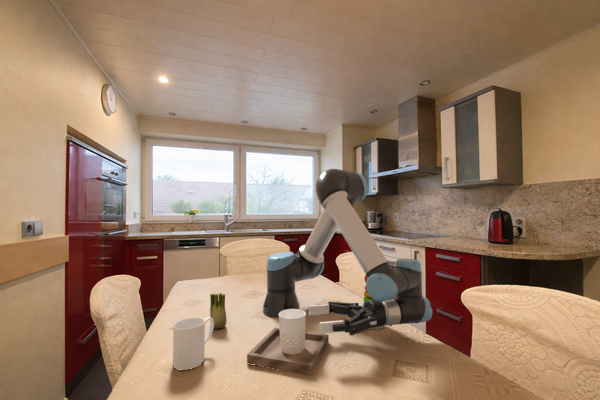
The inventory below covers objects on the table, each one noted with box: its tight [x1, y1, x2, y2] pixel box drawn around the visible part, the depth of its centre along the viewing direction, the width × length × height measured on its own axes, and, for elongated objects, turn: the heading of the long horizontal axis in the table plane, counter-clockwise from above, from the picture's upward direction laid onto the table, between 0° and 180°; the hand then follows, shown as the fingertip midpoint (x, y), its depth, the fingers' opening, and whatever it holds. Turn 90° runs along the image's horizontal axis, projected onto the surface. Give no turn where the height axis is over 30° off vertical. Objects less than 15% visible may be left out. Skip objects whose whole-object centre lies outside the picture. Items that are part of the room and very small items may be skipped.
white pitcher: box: [172, 316, 214, 370], centre depth 74 cm, size 12×8×10 cm, turn 150°
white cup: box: [278, 309, 307, 355], centre depth 77 cm, size 8×8×10 cm
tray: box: [246, 327, 330, 377], centre depth 77 cm, size 18×18×2 cm
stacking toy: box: [362, 274, 385, 330], centre depth 95 cm, size 8×8×19 cm
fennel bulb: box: [209, 292, 228, 330], centre depth 96 cm, size 6×5×12 cm
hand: (314, 318), depth 78 cm, fingers open, 13 cm apart
